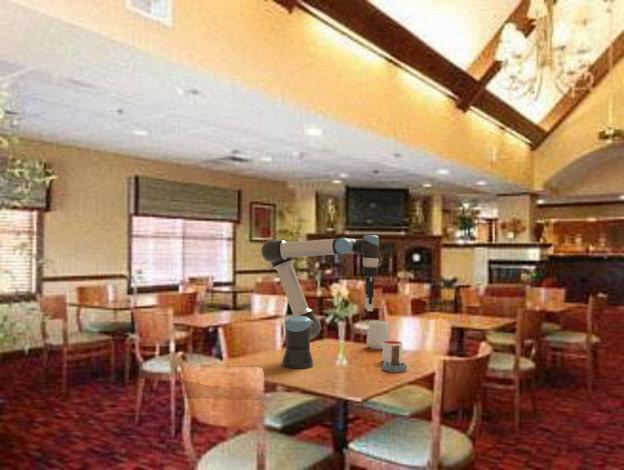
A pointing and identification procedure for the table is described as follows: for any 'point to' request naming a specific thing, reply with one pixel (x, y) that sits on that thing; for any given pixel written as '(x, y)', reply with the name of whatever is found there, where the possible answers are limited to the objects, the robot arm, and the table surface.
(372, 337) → the vase
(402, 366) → the blue bowl
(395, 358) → the wooden rectangular block
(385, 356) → the cup
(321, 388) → the table surface
